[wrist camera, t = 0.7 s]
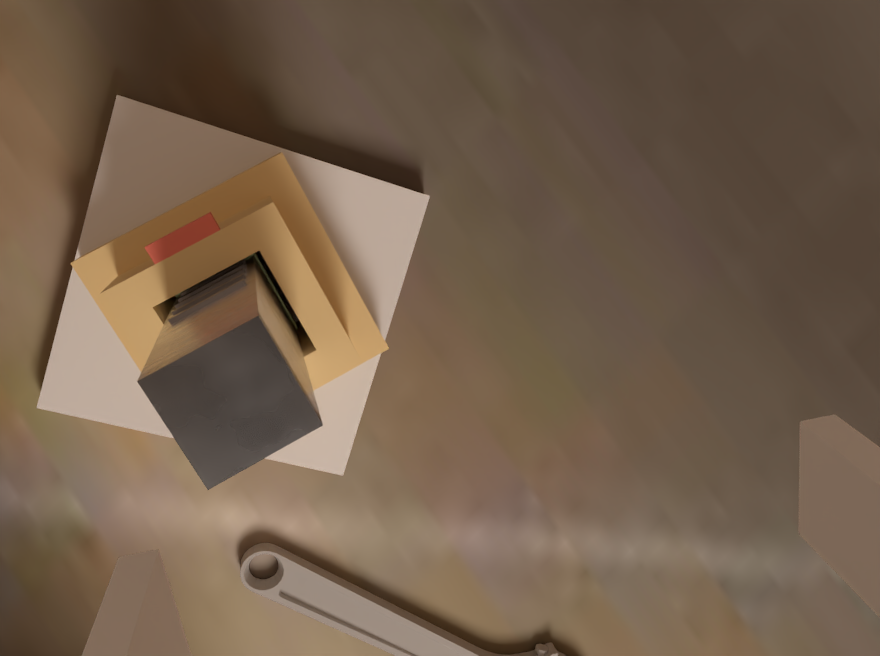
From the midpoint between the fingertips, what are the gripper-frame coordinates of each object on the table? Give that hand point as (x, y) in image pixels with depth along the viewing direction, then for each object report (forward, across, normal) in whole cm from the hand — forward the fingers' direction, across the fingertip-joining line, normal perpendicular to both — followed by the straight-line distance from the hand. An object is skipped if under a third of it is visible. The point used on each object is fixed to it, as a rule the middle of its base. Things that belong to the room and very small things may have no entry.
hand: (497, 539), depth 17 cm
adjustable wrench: (+28, +1, +25) cm, 38 cm away
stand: (+29, +8, +2) cm, 31 cm away
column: (+27, +8, +2) cm, 28 cm away
